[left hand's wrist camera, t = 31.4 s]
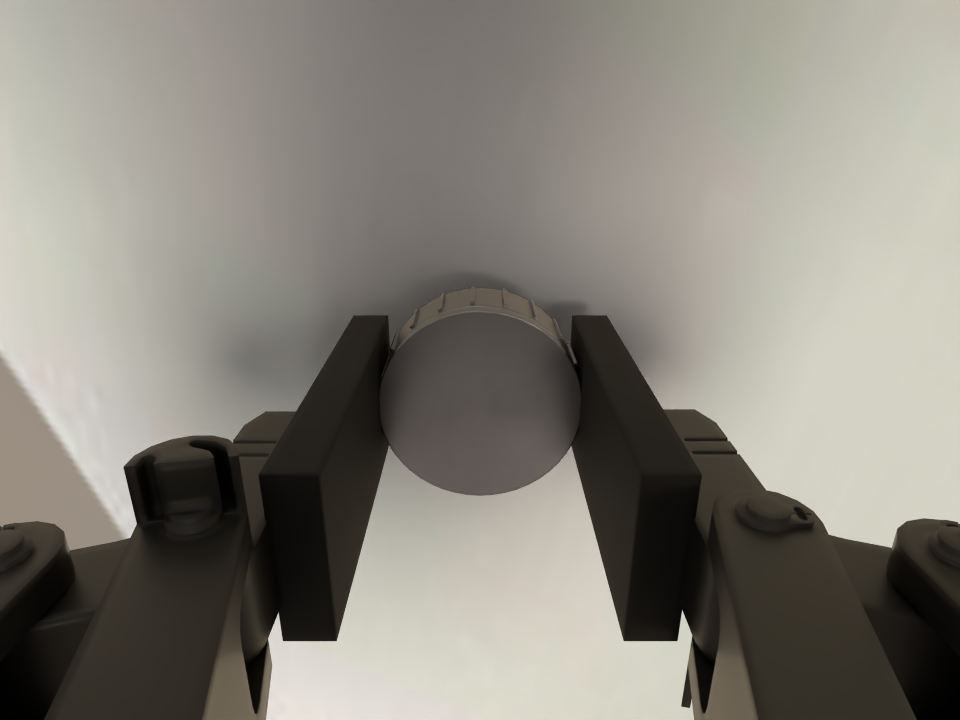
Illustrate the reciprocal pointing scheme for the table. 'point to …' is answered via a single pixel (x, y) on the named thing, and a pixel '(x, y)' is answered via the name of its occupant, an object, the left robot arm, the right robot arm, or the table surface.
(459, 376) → the cap
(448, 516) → the table surface
